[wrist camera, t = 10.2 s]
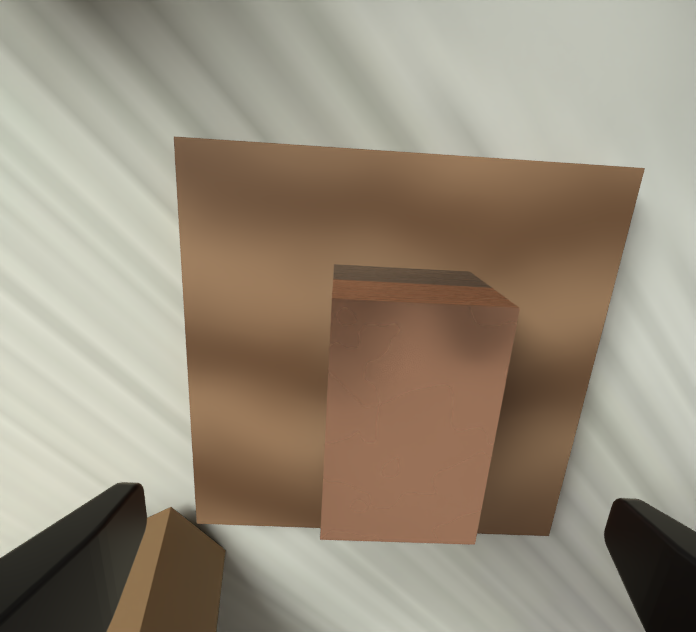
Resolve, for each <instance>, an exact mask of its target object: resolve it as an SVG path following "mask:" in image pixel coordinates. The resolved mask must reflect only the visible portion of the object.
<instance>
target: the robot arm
mask: <svg viewBox="0 0 696 632" xmlns="http://www.w3.org/2000/svg"><path fill="white" fill-rule="evenodd" d="M146 525H147V513H146V505H145V496H144V489H143V486H142V485H141V484H140V483H128V482H121V483H117V484H115V485H113V486H112V487H110V488H109V489H107V490H106V491H104V492H102V493H101V494H99V495H98V496H96V497H95V498H93V499H92V500H90V501H88V502H87V503H85V504H84V505H82V506H81V507H79V508H78V509H76V510H74V511H73V512H71V513H70V514H68V515H67V516H65V517H64V518H62V519H60V520H59V521H57V522H56V523H54V524H53V525H51V526H49V527H48V528H46V529H45V530H43V531H42V532H40V533H39V534H37V535H35V536H34V537H32V538H31V539H29V540H28V541H26V542H25V543H23V544H21V545H20V546H18V547H17V548H15V549H14V550H12V551H11V552H9V553H7V554H6V555H4V556H3V557H1V558H0V632H107V630H108V628H109V625H110V623H111V621H112V619H113V616H114V614H115V611H116V609H117V606H118V603H119V601H120V598H121V595H122V593H123V590H124V587H125V584H126V582H127V579H128V576H129V574H130V571H131V568H132V566H133V563H134V560H135V557H136V555H137V552H138V549H139V547H140V544H141V541H142V538H143V536H144V533H145V530H146ZM604 538H605V543H606V546H607V548H608V550H609V553H610V555H611V557H612V559H613V561H614V564H615V566H616V568H617V570H618V573H619V575H620V577H621V579H622V581H623V584H624V586H625V588H626V590H627V592H628V595H629V597H630V599H631V601H632V604H633V606H634V608H635V610H636V612H637V615H638V617H639V619H640V621H641V623H642V625H643V627H644V629H645V631H646V632H696V532H695V531H693V530H692V529H690V528H688V527H687V526H685V525H683V524H681V523H680V522H678V521H676V520H675V519H673V518H671V517H669V516H668V515H666V514H664V513H663V512H661V511H659V510H657V509H656V508H654V507H652V506H650V505H649V504H647V503H645V502H644V501H642V500H639V499H630V498H619V499H616V500H615V501H614V502H613V504H612V507H611V511H610V514H609V517H608V520H607V524H606V527H605V531H604Z"/></svg>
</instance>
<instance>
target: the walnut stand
mask: <svg viewBox="0 0 696 632" xmlns="http://www.w3.org/2000/svg"><path fill="white" fill-rule="evenodd" d="M174 149H175V165H176V182H177V199H178V216H179V233H180V249H181V266H182V283H183V300H184V317H185V334H186V350H187V367H188V384H189V401H190V418H191V434H192V451H193V468H194V485H195V502H196V518H197V524H225V525H253V526H281V527H309V528H321V512H322V491H323V470H324V450H325V429H326V408H327V387H328V367H329V346H330V325H331V305H332V288H333V274H334V264H339V265H358V266H376V267H395V268H413V269H431V270H450V271H468V272H471V273H473V274H474V275H475V276H477V277H478V278H479V279H481V280H482V281H484V282H485V283H486V284H488V285H489V286H490V287H492V288H493V289H494V290H496V291H497V292H499V293H500V294H501V295H503V296H504V297H505V298H507V299H508V300H509V301H511V302H512V303H514V304H515V305H516V306H518V307H519V308H520V310H519V316H518V321H517V326H516V331H515V337H514V342H513V347H512V352H511V358H510V363H509V368H508V373H507V379H506V384H505V389H504V394H503V400H502V405H501V410H500V415H499V421H498V426H497V431H496V436H495V442H494V447H493V452H492V457H491V463H490V468H489V473H488V478H487V484H486V489H485V494H484V499H483V504H482V510H481V515H480V520H479V525H478V531H477V533H478V534H506V535H534V536H549V533H550V529H551V526H552V522H553V518H554V514H555V510H556V506H557V503H558V499H559V495H560V491H561V487H562V483H563V480H564V476H565V472H566V468H567V464H568V460H569V457H570V453H571V449H572V445H573V441H574V437H575V434H576V430H577V426H578V422H579V418H580V414H581V411H582V407H583V403H584V399H585V395H586V391H587V388H588V384H589V380H590V376H591V372H592V368H593V365H594V361H595V357H596V353H597V349H598V345H599V342H600V338H601V334H602V330H603V326H604V322H605V319H606V315H607V311H608V307H609V303H610V299H611V296H612V292H613V288H614V284H615V280H616V276H617V273H618V269H619V265H620V261H621V257H622V253H623V250H624V246H625V242H626V238H627V234H628V230H629V227H630V223H631V219H632V215H633V211H634V207H635V204H636V200H637V196H638V192H639V188H640V184H641V181H642V177H643V173H644V169H645V168H634V167H619V166H604V165H589V164H574V163H559V162H544V161H529V160H514V159H500V158H485V157H470V156H455V155H440V154H425V153H410V152H395V151H380V150H365V149H351V148H336V147H321V146H306V145H291V144H276V143H261V142H246V141H231V140H216V139H202V138H187V137H174Z"/></svg>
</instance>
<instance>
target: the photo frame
mask: <svg viewBox="0 0 696 632" xmlns="http://www.w3.org/2000/svg"><path fill="white" fill-rule="evenodd" d="M225 552H226V550H225V549H224V548H222V547H221V546H220V545H219V544H217V543H216V542H215V541H213V540H212V539H211V538H210V537H208V536H207V535H206V534H205V533H203V532H202V531H201V530H200V529H198V528H197V527H196V526H195V525H193V524H192V523H191V522H189V521H188V520H187V519H186V518H184V517H183V516H182V515H181V514H179V513H178V512H177V511H176V510H174V509H173V508H172V507H170V508H168V509H165V510H163V511H161V512H159V513H157V514H155V515H153V516H150V517H148V518H147V525H146V530H145V533H144V536H143V538H142V541H141V544H140V547H139V549H138V552H137V555H136V557H135V560H134V563H133V566H132V568H131V571H130V574H129V576H128V579H127V582H126V584H125V587H124V590H123V593H122V595H121V598H120V601H119V603H118V606H117V609H116V611H115V614H114V616H113V619H112V621H111V623H110V625H109V628H108V630H107V632H216V629H217V620H218V612H219V603H220V595H221V586H222V577H223V569H224V560H225Z"/></svg>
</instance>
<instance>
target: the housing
mask: <svg viewBox="0 0 696 632" xmlns="http://www.w3.org/2000/svg"><path fill="white" fill-rule="evenodd" d="M519 310H520V308H519V307H518V306H516V305H515V304H514V303H512V302H511V301H509V300H508V299H507V298H505V297H504V296H503V295H501V294H500V293H499V292H497V291H496V290H494V289H493V288H492V287H490V286H489V285H488V284H486V283H485V282H484V281H482V280H481V279H479V278H478V277H477V276H475V275H474V274H473V273H471V272H468V271H450V270H431V269H413V268H395V267H376V266H358V265H339V264H334V274H333V288H332V305H331V325H330V346H329V367H328V387H327V408H326V429H325V450H324V470H323V491H322V512H321V532H320V540H349V541H381V542H412V543H443V544H475V541H476V536H477V531H478V525H479V520H480V515H481V510H482V504H483V499H484V494H485V489H486V484H487V478H488V473H489V468H490V463H491V457H492V452H493V447H494V442H495V436H496V431H497V426H498V421H499V415H500V410H501V405H502V400H503V394H504V389H505V384H506V379H507V373H508V368H509V363H510V358H511V352H512V347H513V342H514V337H515V331H516V326H517V321H518V316H519Z"/></svg>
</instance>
